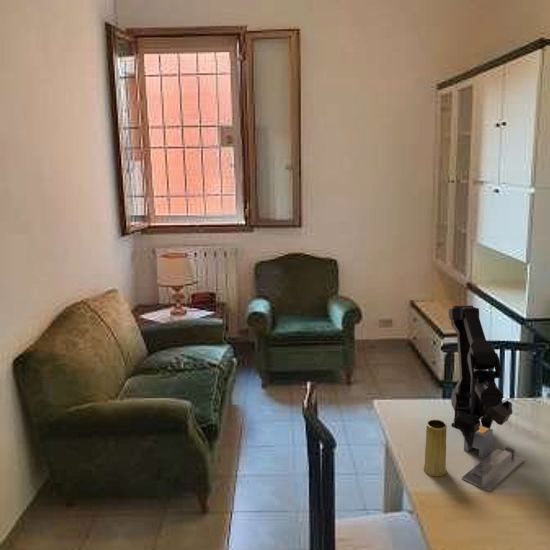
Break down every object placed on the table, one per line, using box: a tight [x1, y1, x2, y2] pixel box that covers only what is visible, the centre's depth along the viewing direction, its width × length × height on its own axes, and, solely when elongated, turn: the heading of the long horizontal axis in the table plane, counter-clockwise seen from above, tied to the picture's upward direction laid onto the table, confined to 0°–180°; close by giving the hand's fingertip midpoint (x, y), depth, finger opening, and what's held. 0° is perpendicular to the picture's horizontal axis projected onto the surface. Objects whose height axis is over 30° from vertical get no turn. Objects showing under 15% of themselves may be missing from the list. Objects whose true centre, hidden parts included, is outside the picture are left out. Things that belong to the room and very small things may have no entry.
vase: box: [423, 419, 447, 477], centre depth 155 cm, size 6×6×14 cm
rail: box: [461, 446, 525, 493], centre depth 156 cm, size 8×20×3 cm, turn 133°
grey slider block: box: [463, 424, 494, 459], centre depth 165 cm, size 6×5×7 cm
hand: (478, 439), depth 165 cm, fingers open, 9 cm apart
